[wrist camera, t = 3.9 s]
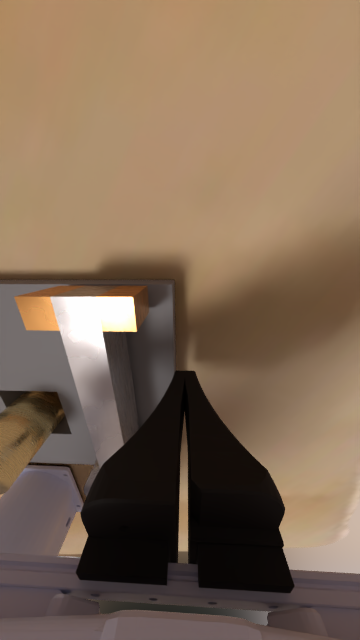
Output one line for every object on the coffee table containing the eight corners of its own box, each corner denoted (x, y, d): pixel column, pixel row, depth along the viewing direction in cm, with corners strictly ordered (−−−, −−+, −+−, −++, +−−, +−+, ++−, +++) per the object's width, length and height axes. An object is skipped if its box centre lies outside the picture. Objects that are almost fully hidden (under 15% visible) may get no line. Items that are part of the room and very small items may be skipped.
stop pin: (78, 410, 17) (19, 496, 11) (40, 409, 17) (-39, 493, 11) (68, 379, 16) (-6, 457, 10) (27, 378, 16) (-72, 455, 10)
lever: (160, 459, 16) (154, 512, 12) (106, 457, 16) (85, 509, 13) (148, 285, 10) (129, 300, 7) (62, 285, 10) (2, 299, 7)
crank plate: (177, 446, 18) (176, 467, 17) (36, 441, 19) (19, 461, 17) (174, 279, 12) (172, 284, 10) (-40, 279, 13) (-79, 284, 11)
